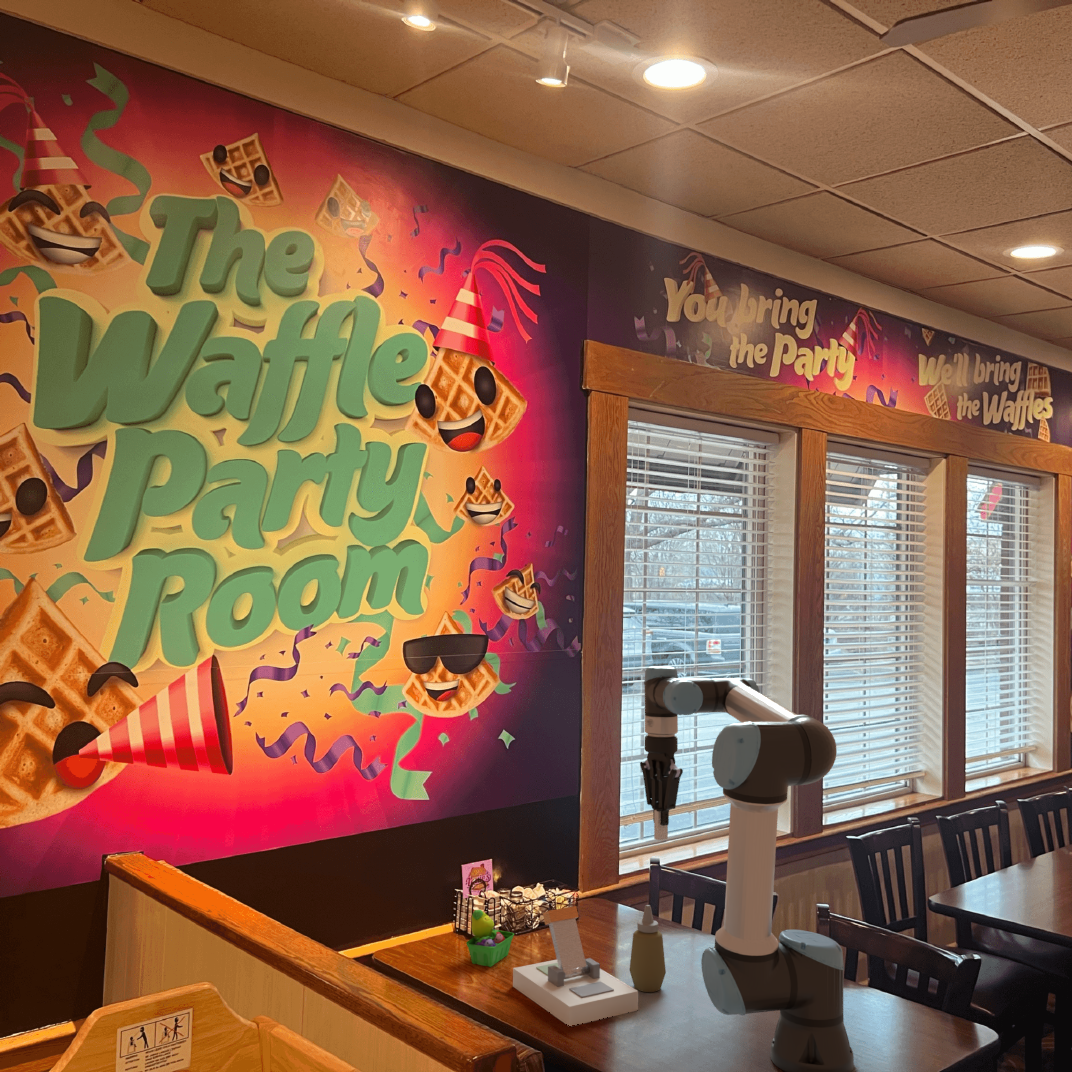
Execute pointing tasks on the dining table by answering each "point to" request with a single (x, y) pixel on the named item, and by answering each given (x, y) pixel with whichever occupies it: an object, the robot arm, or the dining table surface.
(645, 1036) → the dining table surface
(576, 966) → the lever
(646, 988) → the squeeze bottle
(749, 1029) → the dining table surface
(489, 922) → the fruit basket
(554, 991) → the switch panel
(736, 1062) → the dining table surface
